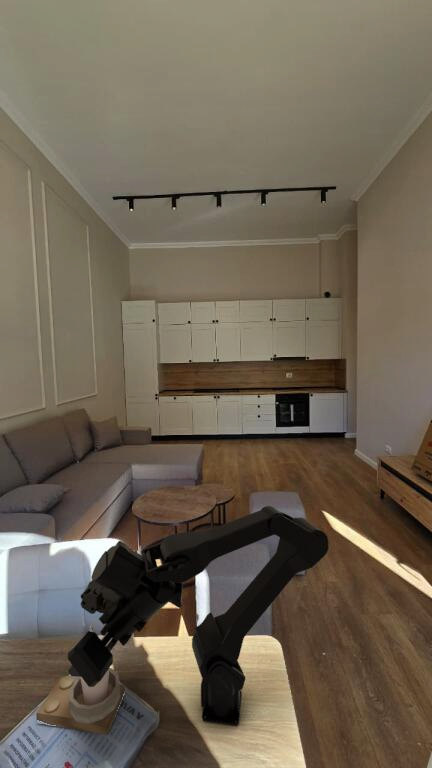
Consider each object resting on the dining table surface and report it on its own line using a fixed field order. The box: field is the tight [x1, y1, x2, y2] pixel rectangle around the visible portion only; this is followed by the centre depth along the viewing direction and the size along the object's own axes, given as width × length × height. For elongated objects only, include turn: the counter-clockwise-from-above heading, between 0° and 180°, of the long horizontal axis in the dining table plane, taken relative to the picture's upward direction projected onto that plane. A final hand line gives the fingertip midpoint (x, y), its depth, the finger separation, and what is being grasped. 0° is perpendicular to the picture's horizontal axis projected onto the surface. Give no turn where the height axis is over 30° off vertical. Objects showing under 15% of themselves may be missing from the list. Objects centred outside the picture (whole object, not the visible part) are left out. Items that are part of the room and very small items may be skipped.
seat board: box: [35, 667, 126, 735], centre depth 65 cm, size 13×8×4 cm, turn 81°
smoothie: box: [80, 624, 114, 706], centre depth 64 cm, size 6×6×14 cm
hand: (87, 652), depth 64 cm, fingers open, 9 cm apart
